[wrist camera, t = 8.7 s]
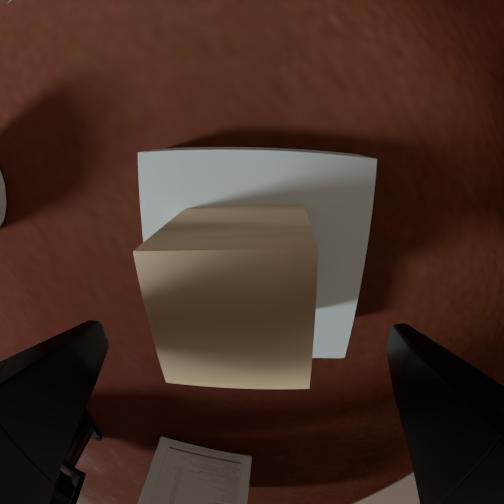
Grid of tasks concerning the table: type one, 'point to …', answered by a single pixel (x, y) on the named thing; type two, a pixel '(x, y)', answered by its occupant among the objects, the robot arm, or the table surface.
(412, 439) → the robot arm
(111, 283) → the table surface
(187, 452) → the supplement box
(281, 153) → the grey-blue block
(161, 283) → the birch cube
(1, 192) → the white cup
